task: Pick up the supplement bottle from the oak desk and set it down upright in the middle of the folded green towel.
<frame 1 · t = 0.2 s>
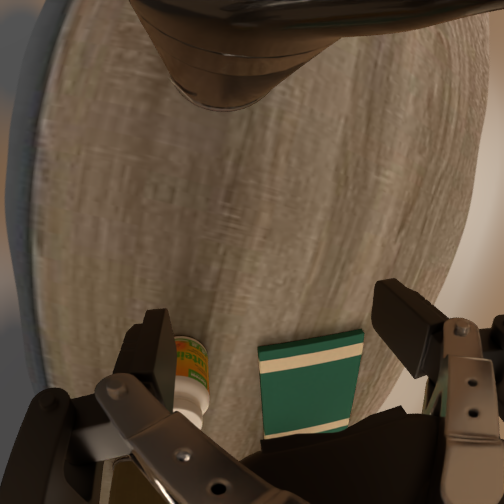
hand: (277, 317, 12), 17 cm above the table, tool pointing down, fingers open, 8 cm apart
supplement bottle: (182, 353, 32), on the table
canister: (143, 472, 39), on the table
towel: (308, 394, 37), on the table
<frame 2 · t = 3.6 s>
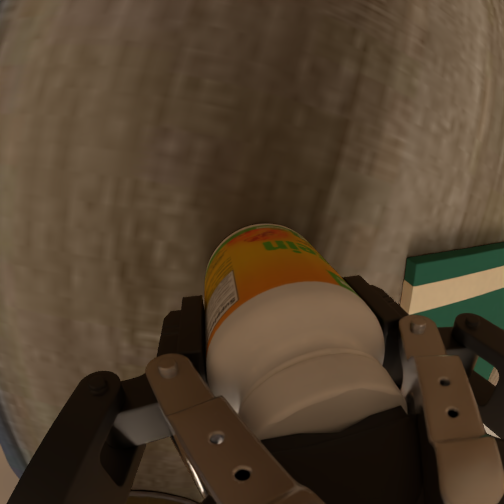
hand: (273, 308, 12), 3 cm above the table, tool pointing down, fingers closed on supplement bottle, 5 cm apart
supplement bottle: (261, 275, 15), on the table, touching gripper
towel: (449, 358, 20), on the table
when the fingers open (4 cm above the table, at t = 10.2 s): supplement bottle stays where it is, resting on towel.
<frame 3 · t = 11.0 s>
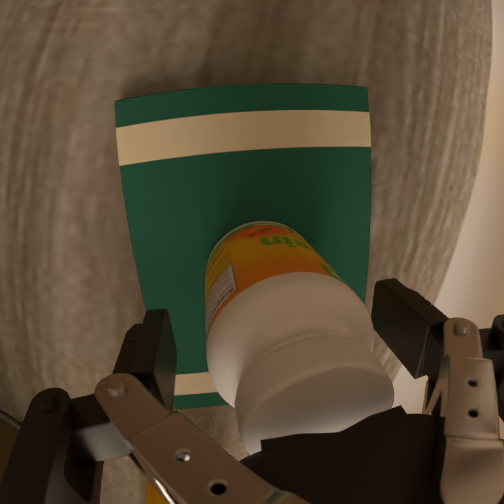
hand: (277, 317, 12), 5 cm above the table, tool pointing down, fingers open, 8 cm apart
supplement bottle: (259, 270, 16), point 1 cm above the table, touching towel
canister: (6, 437, 20), on the table
towel: (256, 264, 17), on the table
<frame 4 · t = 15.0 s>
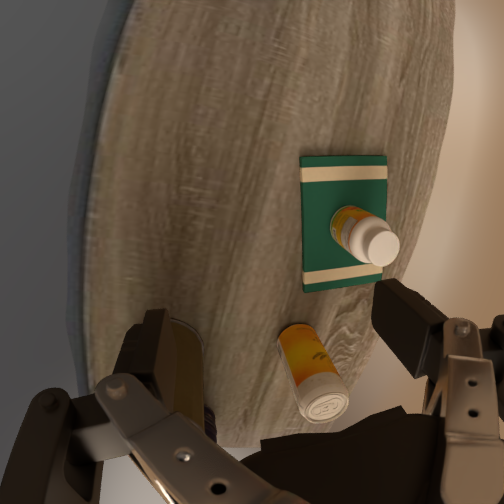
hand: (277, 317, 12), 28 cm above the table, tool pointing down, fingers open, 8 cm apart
beer can: (295, 337, 46), on the table
supplement bottle: (347, 224, 40), point 1 cm above the table, touching towel
canister: (167, 347, 44), on the table
towel: (344, 223, 41), on the table
dark cylinder: (187, 417, 50), on the table
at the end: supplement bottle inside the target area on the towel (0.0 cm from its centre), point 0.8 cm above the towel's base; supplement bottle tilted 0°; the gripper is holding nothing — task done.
